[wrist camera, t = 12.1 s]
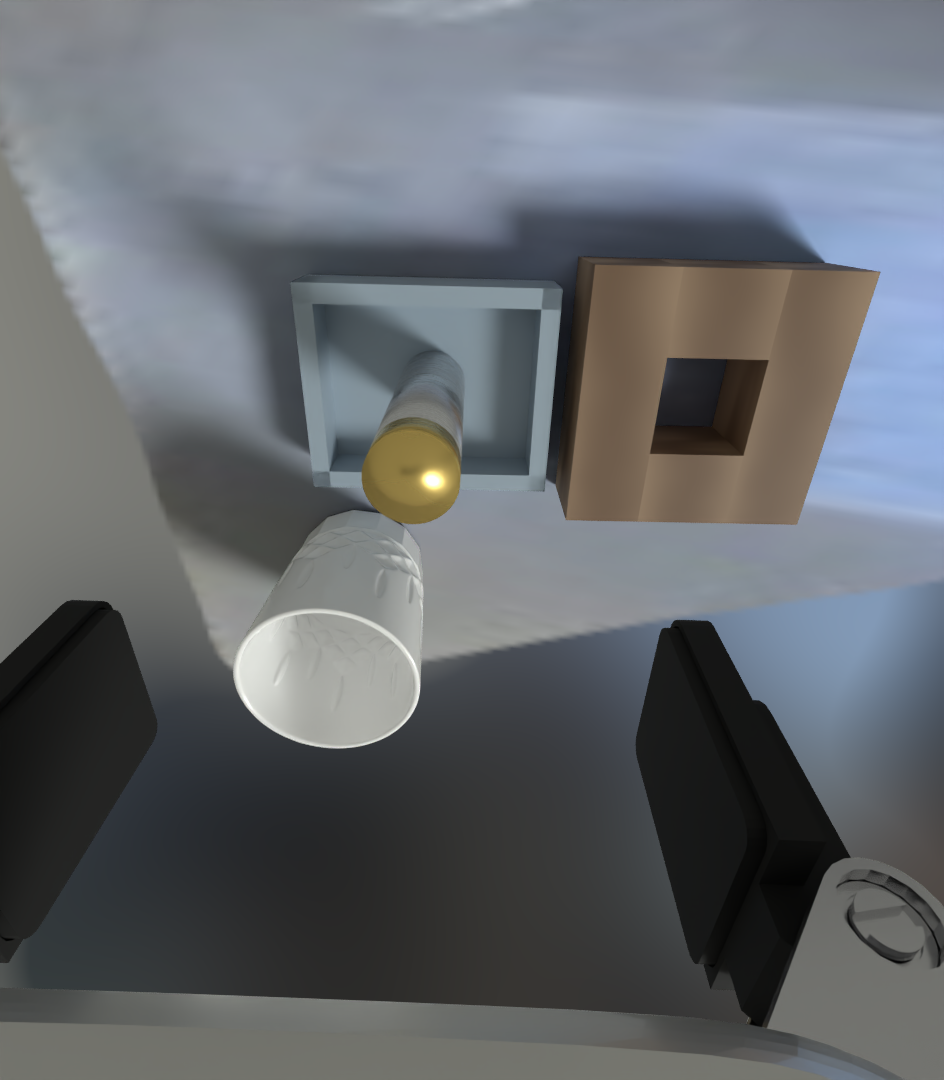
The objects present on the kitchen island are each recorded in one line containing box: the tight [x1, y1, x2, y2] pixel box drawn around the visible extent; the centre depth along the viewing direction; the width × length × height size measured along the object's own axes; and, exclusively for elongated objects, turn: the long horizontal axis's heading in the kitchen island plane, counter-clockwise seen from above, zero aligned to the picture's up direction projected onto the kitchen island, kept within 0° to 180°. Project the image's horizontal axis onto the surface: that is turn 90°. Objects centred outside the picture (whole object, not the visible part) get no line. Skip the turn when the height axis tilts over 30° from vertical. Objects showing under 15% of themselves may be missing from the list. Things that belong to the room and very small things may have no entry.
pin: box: [362, 351, 465, 524], centre depth 23 cm, size 3×3×12 cm
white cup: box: [233, 510, 423, 748], centre depth 30 cm, size 8×8×10 cm
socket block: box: [556, 257, 880, 525], centre depth 27 cm, size 11×11×4 cm
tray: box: [290, 274, 563, 491], centre depth 27 cm, size 11×9×3 cm
